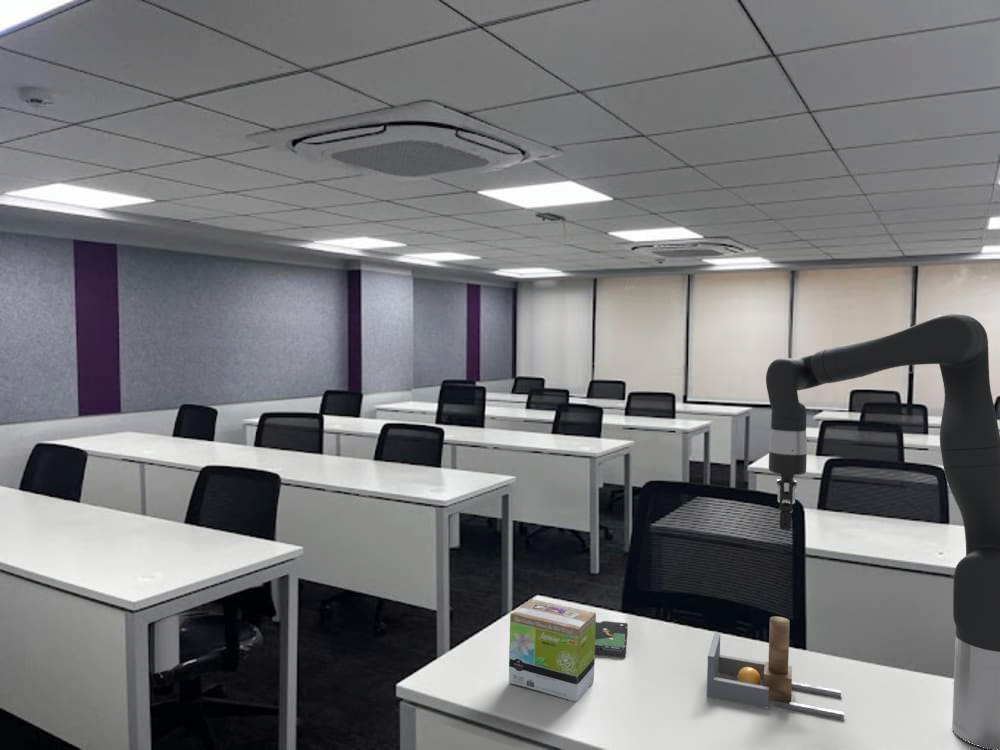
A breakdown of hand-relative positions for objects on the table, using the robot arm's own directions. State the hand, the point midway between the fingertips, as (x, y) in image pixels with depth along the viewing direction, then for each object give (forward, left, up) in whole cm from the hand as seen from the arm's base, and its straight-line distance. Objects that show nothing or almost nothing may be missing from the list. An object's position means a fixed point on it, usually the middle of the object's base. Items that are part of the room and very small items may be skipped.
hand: (785, 525), depth 152 cm
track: (+4, +17, -30) cm, 35 cm away
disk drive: (+36, -14, -31) cm, 49 cm away
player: (+9, +14, -30) cm, 34 cm away
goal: (+14, +11, -30) cm, 35 cm away
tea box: (+52, +5, -30) cm, 60 cm away
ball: (+13, +11, -28) cm, 33 cm away
